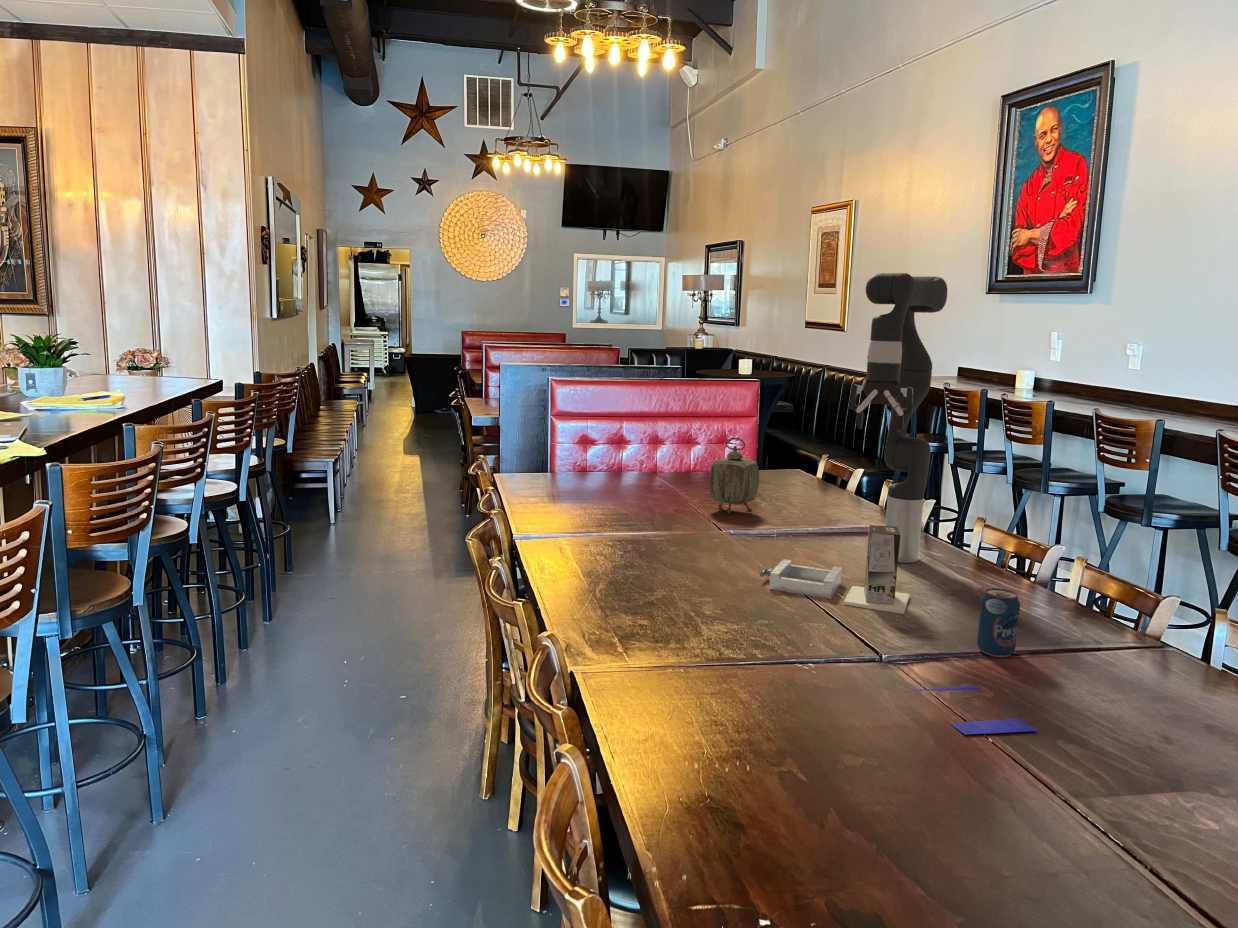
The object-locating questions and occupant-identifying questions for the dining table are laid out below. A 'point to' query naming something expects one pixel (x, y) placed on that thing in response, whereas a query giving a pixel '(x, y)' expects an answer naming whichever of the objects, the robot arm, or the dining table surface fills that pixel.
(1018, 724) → the blue strips
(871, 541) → the coffee box
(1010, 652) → the soda can
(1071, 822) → the dining table surface
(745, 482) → the tabletop clock
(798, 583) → the grey drawer
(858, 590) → the pad
